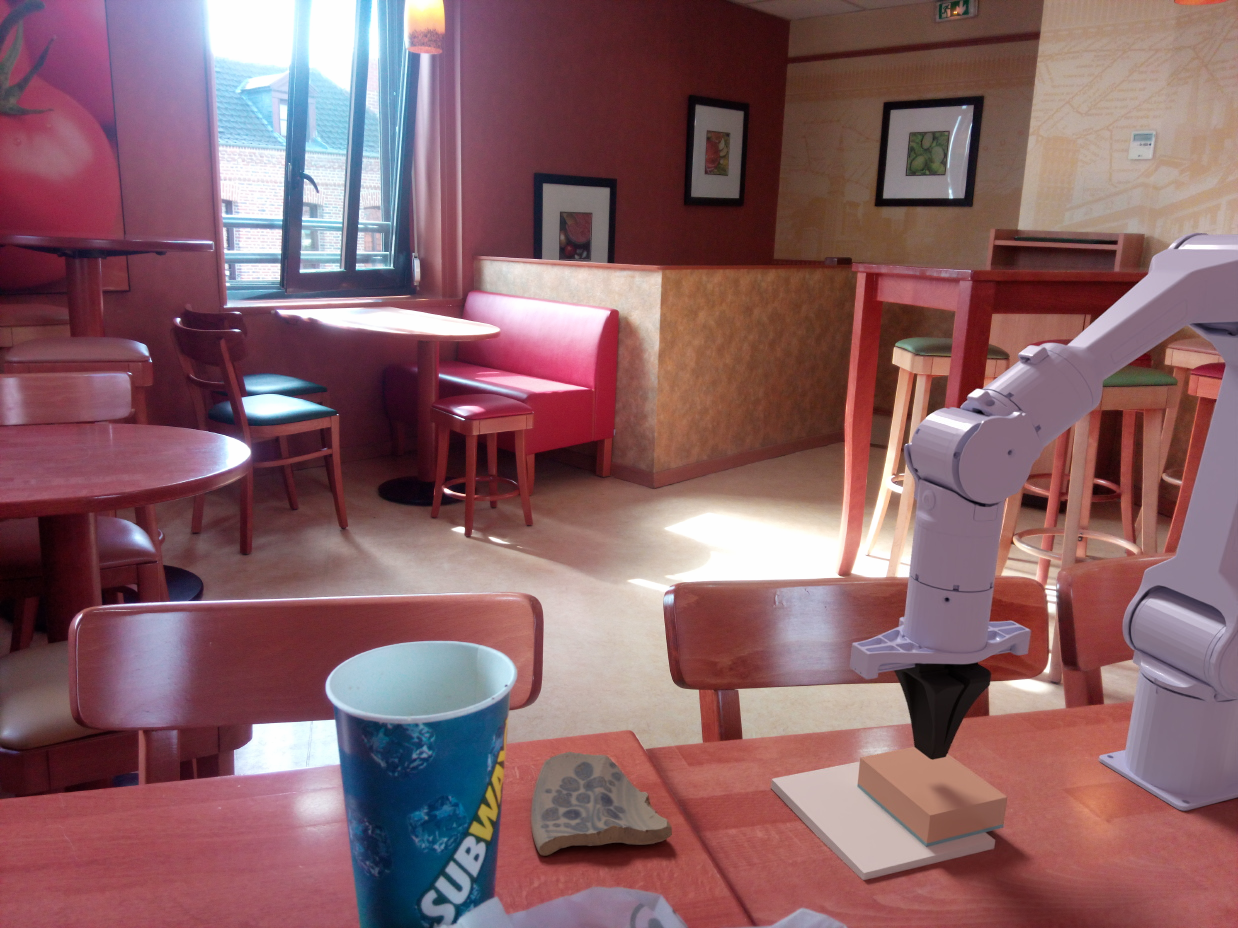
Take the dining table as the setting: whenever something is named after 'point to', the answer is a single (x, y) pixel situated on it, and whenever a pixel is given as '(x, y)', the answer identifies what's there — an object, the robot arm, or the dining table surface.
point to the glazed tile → (931, 795)
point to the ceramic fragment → (590, 805)
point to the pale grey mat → (863, 824)
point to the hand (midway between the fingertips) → (929, 751)
